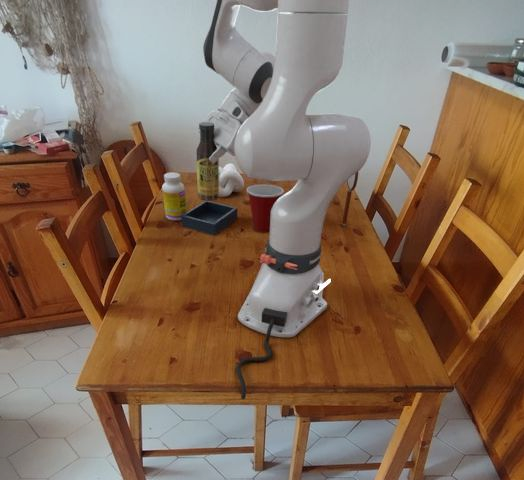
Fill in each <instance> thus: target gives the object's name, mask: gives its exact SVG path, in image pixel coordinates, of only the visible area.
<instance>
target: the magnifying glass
mask: <svg viewBox="0 0 524 480" xmlns="http://www.w3.org/2000/svg"><path fill="white" fill-rule="evenodd" d="M358 179H359V171H358V172H357V173H355V174H354V175H353V176H351V177H350V178H349V179H348V180H347V181H346V182H347V188H348V190H347V192H346V199H345V205H344V211H343V215H342V216H343V217H342V227H345V226H346V224H347V221H348V217H349V211H350V205H351V198H352V192H353V191H354V190H355V189H356V187H357V183H358Z"/></svg>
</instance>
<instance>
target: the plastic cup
mask: <svg viewBox="0 0 524 480" xmlns="http://www.w3.org/2000/svg"><path fill="white" fill-rule="evenodd" d="M284 192H285V189H284V188H282V187H280V186H277V185H273V184H253V185H250V186H248V187H247V188H246V193H247V195H248V199H249V204H250V210H251V218H252V220H253V221H252V223H253V227H254V230H255V231H257V232H259V233H270V216H271V209H272V207H273V205H274V203H275V202H276V201H277V199H279V198H280V197H281V196H283V195H284V194H285V193H284Z"/></svg>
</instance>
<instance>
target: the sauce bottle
mask: <svg viewBox="0 0 524 480" xmlns="http://www.w3.org/2000/svg"><path fill="white" fill-rule="evenodd" d="M198 129H200V133H199V143H198V146H197V148H196V183H197V186H196V187H197V197H198V198H199V200H202V201H211V202H213V201H216V200H218V198H219V196H218V193H219V167H220V158H218V159H217V160H216V162H215V163H212V162H210V161H209V160H208V157H209V155H210V154H211V153H214V152H215V151H216V150H217V147H218V146H217V145H215V143H214V140H213V139H214V124H213V123H210V122H203V121H202V122H199V124H198Z"/></svg>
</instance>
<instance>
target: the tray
mask: <svg viewBox="0 0 524 480" xmlns="http://www.w3.org/2000/svg"><path fill="white" fill-rule="evenodd" d="M181 219H182V220H181V226H182V228H187V229H190V230H193V231H197V232H201V233H205V234H208V235H213V236H216V235H217V234H219V233H220V232H222V230H224V229H225V228H227V227H228V226H229V225H231V224H232V223H233V222H235V221H236V220H237V219H238V207H235V206H230V205H227V204H223V203H218V202H214V201H205V200H203V201H202V202H201V203H199V204H198V205H196V206H195V207H193V208H191V209H190V210H188V211H187V212H186V213H185V214H183V215H182V216H181Z"/></svg>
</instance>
